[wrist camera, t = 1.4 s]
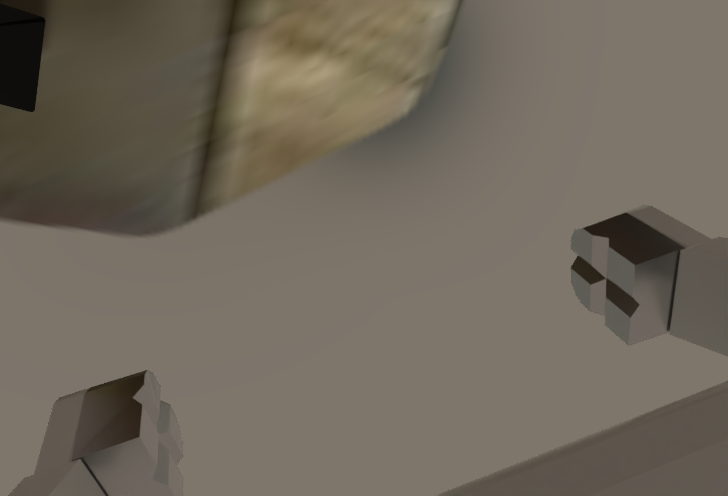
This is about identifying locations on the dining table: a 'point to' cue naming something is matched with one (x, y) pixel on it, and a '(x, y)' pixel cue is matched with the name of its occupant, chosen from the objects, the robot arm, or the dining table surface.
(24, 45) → the black box
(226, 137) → the dining table surface
